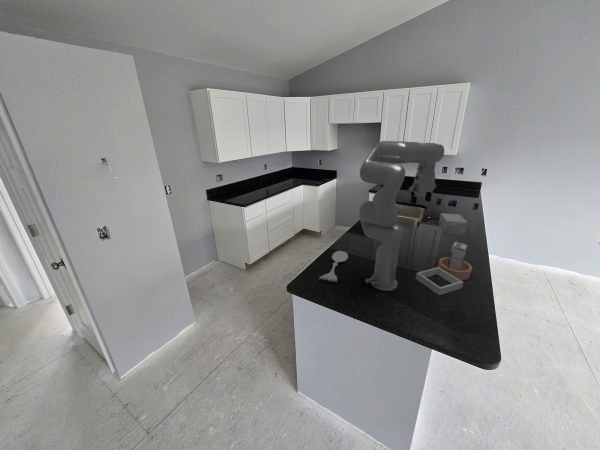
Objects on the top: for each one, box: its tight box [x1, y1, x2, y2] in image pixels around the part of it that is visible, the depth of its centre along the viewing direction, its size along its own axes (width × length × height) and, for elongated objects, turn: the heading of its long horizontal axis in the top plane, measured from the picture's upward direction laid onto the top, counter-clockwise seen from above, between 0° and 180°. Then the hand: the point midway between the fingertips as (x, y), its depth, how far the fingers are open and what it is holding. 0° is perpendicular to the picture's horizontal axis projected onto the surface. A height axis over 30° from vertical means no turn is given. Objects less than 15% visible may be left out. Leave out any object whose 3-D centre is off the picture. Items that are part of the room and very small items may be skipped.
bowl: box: [437, 256, 473, 281], centre depth 130 cm, size 14×14×4 cm
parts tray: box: [415, 266, 464, 296], centre depth 121 cm, size 14×14×4 cm
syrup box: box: [447, 241, 468, 271], centre depth 127 cm, size 6×6×14 cm
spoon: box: [319, 250, 349, 283], centre depth 135 cm, size 9×32×4 cm, turn 159°
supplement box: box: [438, 212, 468, 236], centre depth 179 cm, size 17×13×9 cm
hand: (420, 202), depth 132 cm, fingers open, 9 cm apart
